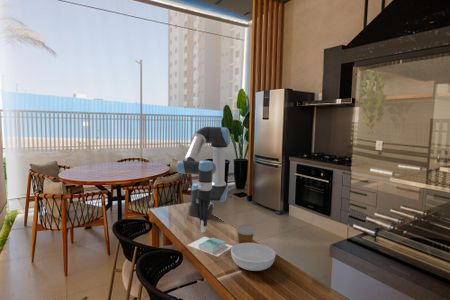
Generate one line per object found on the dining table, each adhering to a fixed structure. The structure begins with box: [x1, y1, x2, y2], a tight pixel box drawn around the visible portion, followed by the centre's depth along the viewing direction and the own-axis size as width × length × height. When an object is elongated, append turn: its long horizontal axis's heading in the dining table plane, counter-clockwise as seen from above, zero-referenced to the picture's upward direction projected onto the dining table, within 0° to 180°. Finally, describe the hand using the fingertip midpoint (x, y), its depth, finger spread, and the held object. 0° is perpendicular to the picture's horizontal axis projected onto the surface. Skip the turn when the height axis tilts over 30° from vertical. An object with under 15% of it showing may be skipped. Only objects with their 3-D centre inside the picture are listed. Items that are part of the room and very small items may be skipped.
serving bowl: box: [230, 242, 276, 272], centre depth 128 cm, size 21×21×7 cm
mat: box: [187, 236, 234, 258], centre depth 145 cm, size 15×20×1 cm
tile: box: [199, 237, 227, 255], centre depth 144 cm, size 12×2×9 cm
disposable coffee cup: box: [236, 224, 256, 244], centre depth 144 cm, size 10×10×12 cm
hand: (203, 231), depth 148 cm, fingers closed
